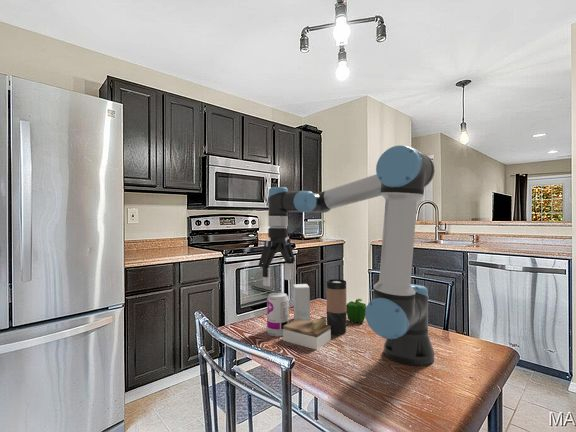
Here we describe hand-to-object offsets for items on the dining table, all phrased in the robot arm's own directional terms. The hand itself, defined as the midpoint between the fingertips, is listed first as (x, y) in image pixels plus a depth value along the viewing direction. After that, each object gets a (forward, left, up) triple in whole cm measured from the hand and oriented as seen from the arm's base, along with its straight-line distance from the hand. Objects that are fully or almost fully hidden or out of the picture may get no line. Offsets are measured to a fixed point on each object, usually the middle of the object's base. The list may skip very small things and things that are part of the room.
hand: (277, 282), depth 120 cm
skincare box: (0, -17, -20) cm, 26 cm away
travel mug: (-18, -14, -20) cm, 30 cm away
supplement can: (0, 0, -20) cm, 20 cm away
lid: (-13, 0, -15) cm, 20 cm away
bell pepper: (-19, -31, -20) cm, 41 cm away
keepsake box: (-13, 0, -20) cm, 24 cm away
